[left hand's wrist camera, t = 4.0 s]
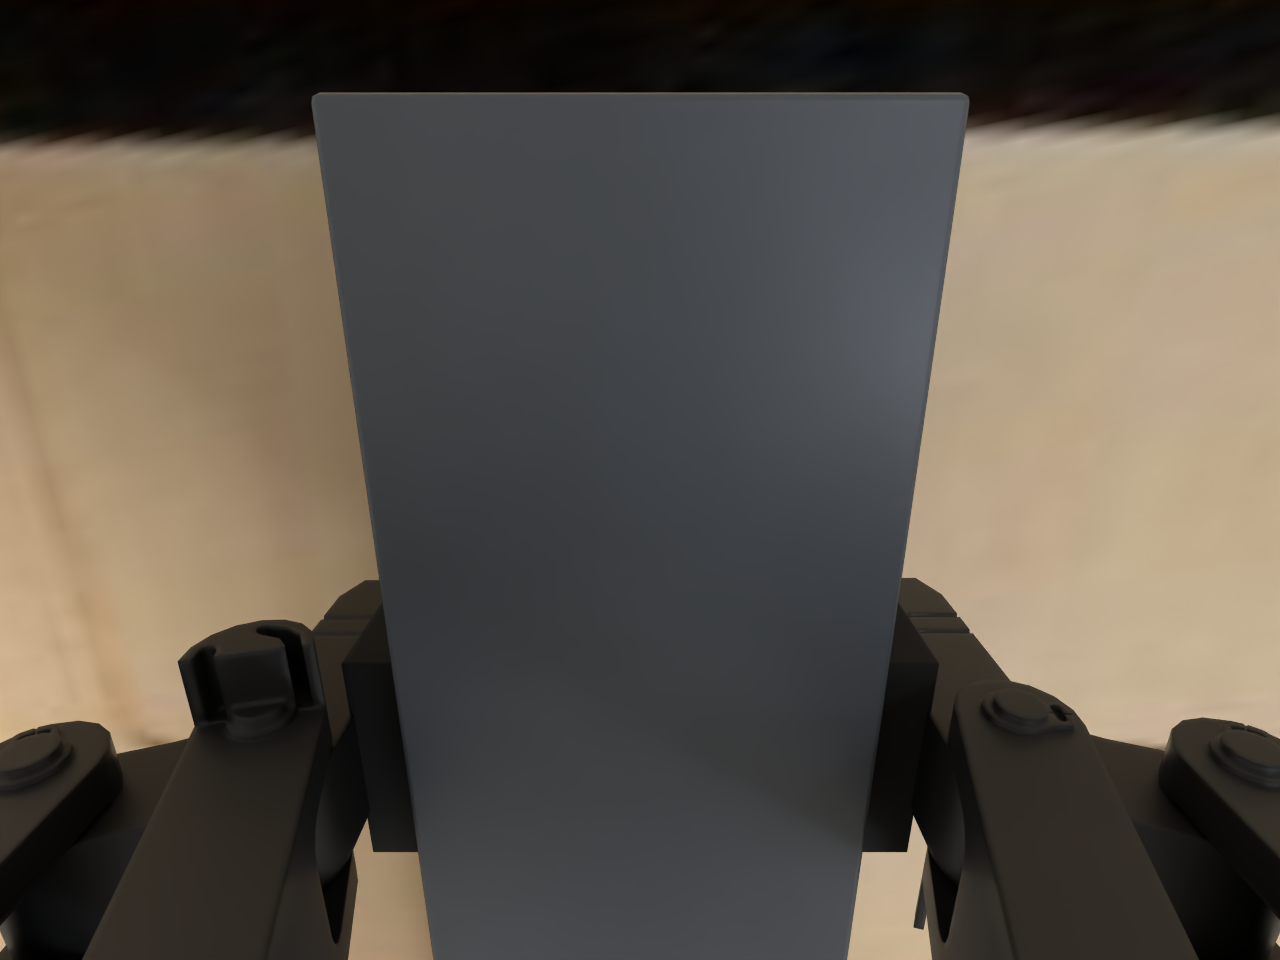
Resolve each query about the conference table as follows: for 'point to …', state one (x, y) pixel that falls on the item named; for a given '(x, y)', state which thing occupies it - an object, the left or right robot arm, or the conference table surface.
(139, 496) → the conference table surface
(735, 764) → the beam
